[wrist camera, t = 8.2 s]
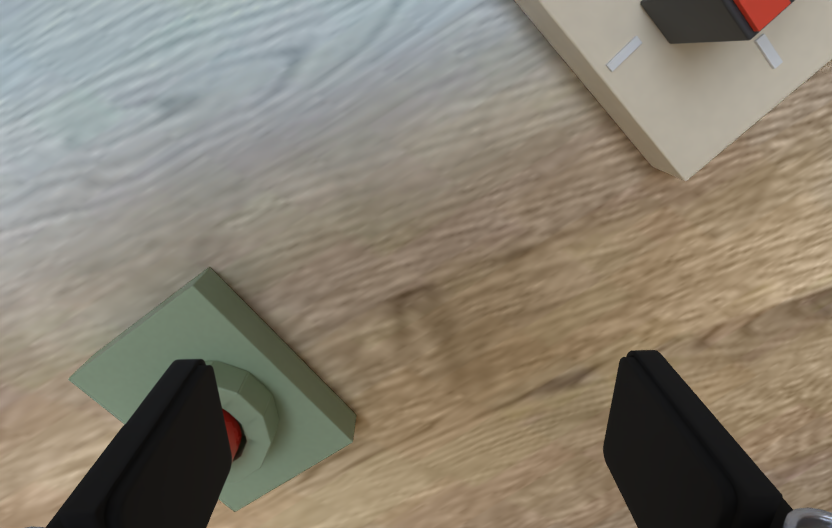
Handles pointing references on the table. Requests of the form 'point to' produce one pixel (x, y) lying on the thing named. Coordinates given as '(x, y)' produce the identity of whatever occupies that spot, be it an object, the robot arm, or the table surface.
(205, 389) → the robot arm
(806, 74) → the panel
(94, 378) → the switch box
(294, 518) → the table surface
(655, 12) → the hob knob
